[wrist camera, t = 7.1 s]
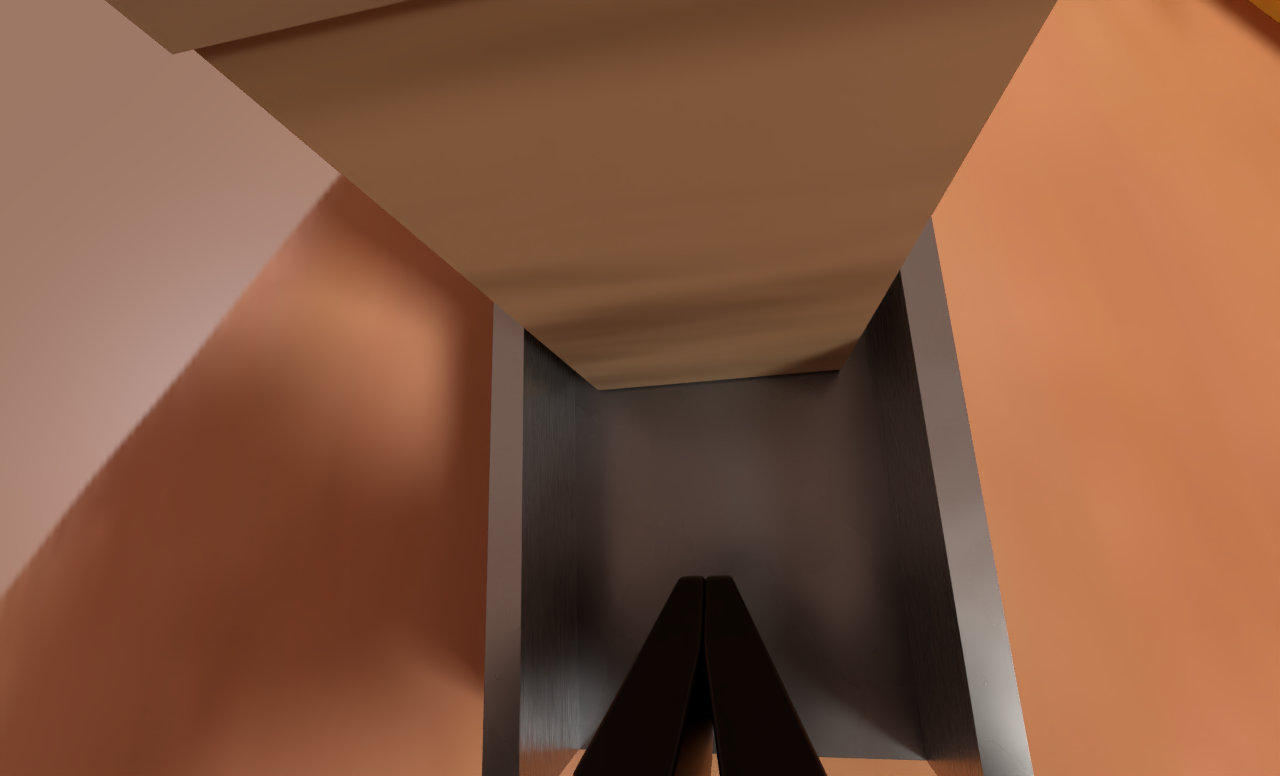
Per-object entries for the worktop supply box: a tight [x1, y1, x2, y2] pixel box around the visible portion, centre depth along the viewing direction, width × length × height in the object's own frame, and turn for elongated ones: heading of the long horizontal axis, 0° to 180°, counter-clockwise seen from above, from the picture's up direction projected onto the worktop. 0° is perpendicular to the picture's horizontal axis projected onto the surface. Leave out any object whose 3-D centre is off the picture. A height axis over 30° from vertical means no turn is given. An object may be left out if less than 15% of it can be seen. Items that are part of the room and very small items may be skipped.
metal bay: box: [482, 217, 1034, 776], centre depth 15 cm, size 20×10×5 cm, turn 2°
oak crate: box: [106, 0, 1057, 390], centre depth 10 cm, size 7×7×14 cm
